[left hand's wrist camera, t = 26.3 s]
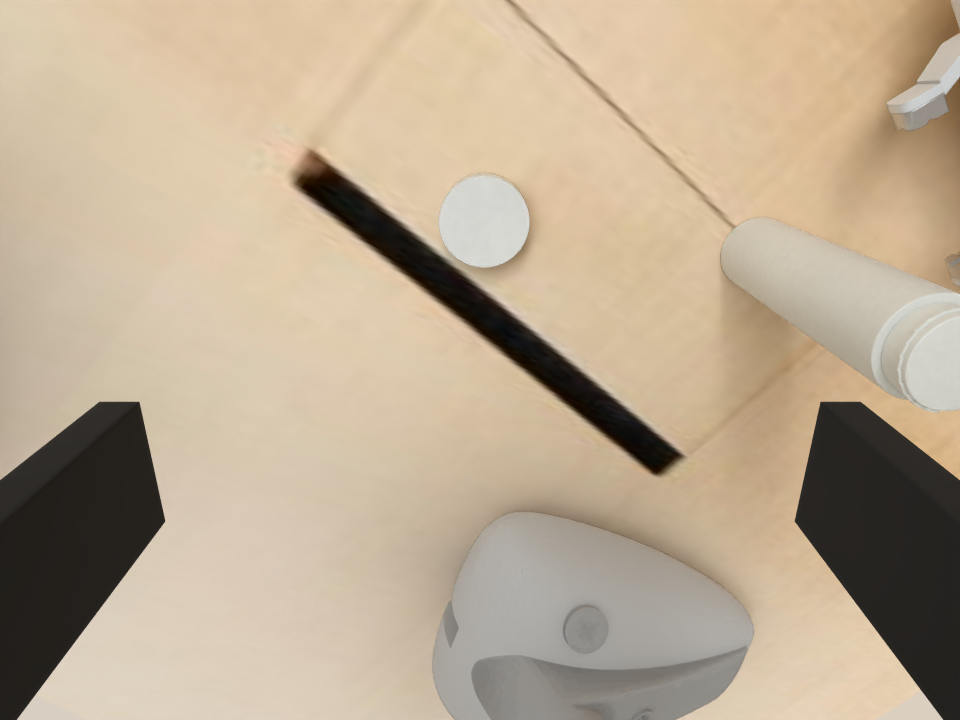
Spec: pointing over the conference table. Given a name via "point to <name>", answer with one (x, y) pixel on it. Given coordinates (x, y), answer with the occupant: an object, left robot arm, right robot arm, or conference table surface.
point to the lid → (484, 220)
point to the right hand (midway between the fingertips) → (927, 200)
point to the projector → (582, 628)
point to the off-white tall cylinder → (854, 308)
